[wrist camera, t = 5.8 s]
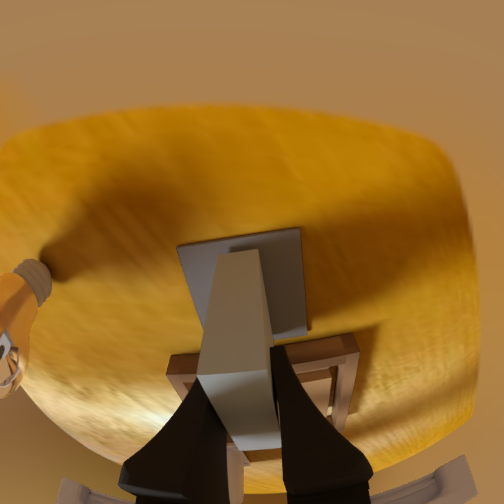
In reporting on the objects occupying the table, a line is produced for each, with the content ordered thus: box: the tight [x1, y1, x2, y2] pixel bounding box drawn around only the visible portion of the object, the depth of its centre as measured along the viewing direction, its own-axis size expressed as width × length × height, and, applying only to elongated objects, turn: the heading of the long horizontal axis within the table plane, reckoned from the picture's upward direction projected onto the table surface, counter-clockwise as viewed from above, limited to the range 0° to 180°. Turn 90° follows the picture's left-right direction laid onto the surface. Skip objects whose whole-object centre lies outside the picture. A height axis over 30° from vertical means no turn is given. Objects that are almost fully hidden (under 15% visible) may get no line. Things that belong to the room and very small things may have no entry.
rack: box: [166, 333, 360, 446], centre depth 22 cm, size 14×14×2 cm
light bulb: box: [0, 259, 52, 399], centre depth 11 cm, size 7×7×12 cm
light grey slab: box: [197, 249, 281, 451], centre depth 13 cm, size 7×2×8 cm, turn 9°
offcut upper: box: [296, 369, 332, 418], centre depth 22 cm, size 7×3×1 cm, turn 8°
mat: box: [176, 227, 307, 340], centre depth 17 cm, size 8×7×1 cm
